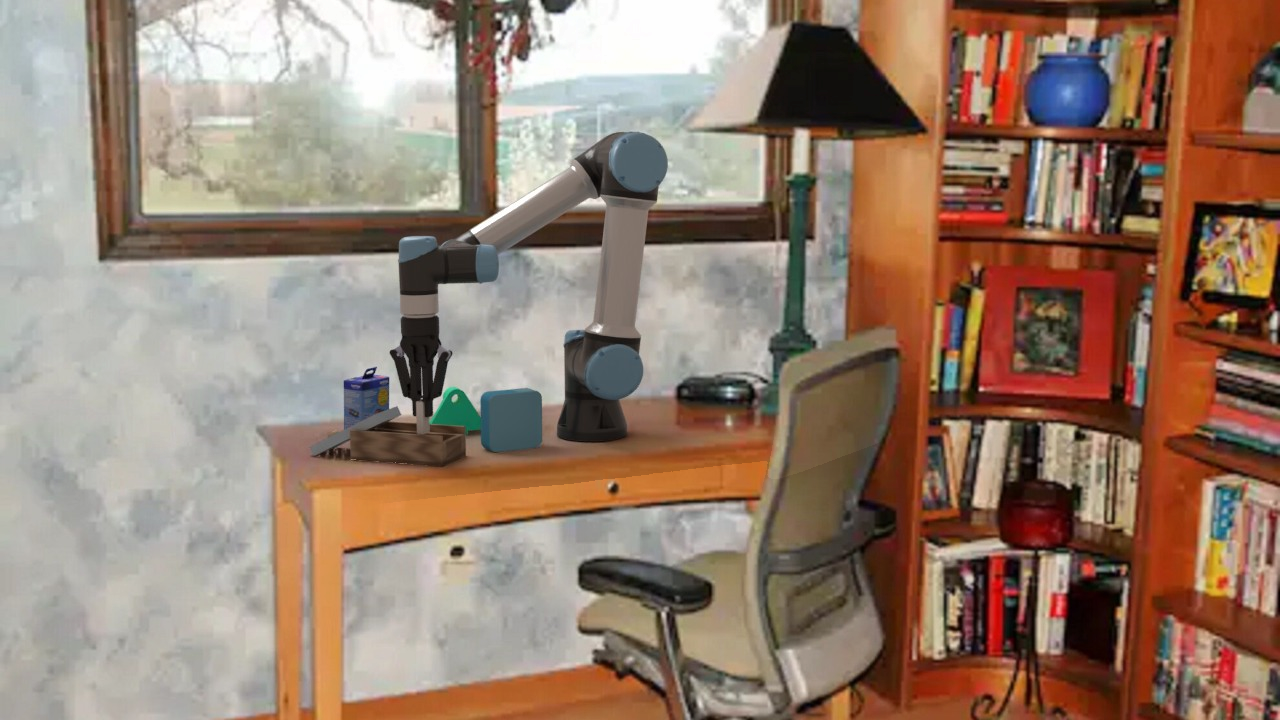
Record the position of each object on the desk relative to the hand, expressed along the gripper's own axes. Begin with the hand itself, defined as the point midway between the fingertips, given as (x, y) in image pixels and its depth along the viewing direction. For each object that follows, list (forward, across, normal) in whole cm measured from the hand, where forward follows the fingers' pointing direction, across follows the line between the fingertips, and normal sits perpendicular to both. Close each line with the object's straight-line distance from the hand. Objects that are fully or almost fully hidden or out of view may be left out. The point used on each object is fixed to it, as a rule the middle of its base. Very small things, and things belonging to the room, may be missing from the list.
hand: (423, 432), depth 306 cm
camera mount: (+6, +7, -26) cm, 28 cm away
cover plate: (+1, +15, 0) cm, 15 cm away
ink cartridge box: (+5, +24, -19) cm, 31 cm away
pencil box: (+5, +3, 0) cm, 6 cm away
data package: (+6, -12, -15) cm, 20 cm away
